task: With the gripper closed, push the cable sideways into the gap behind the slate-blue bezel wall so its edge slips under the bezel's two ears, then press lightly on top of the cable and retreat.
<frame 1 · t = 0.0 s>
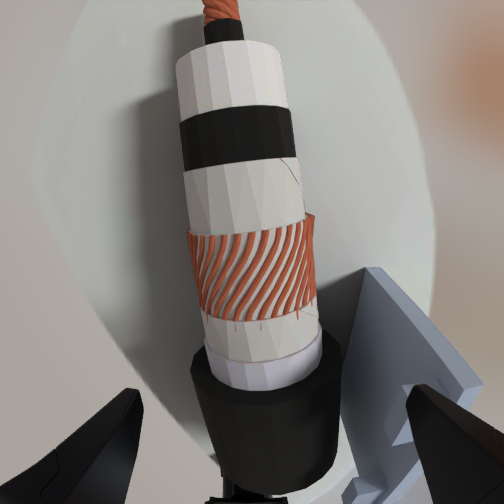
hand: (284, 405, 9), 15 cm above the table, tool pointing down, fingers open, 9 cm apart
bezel: (356, 340, 26), on the table
cable: (250, 237, 23), on the table
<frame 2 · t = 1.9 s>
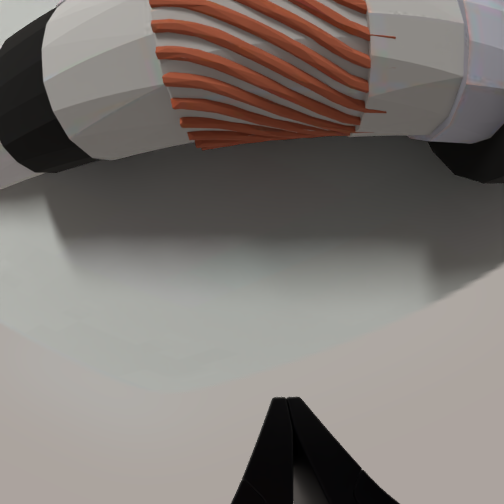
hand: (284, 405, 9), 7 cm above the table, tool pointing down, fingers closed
cable: (256, 65, 12), on the table
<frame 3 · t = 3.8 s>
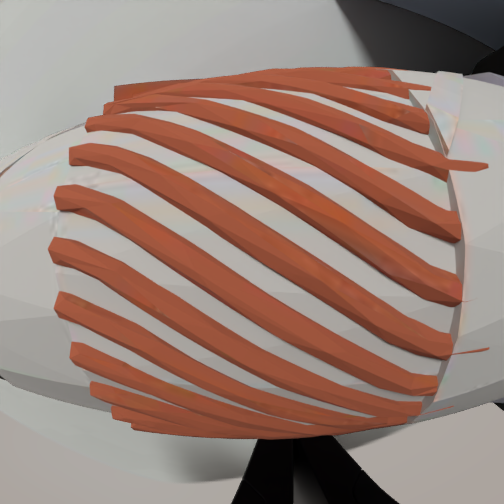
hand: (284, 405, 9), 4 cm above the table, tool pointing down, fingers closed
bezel: (480, 29, 8), on the table
cable: (256, 208, 11), on the table, touching gripper
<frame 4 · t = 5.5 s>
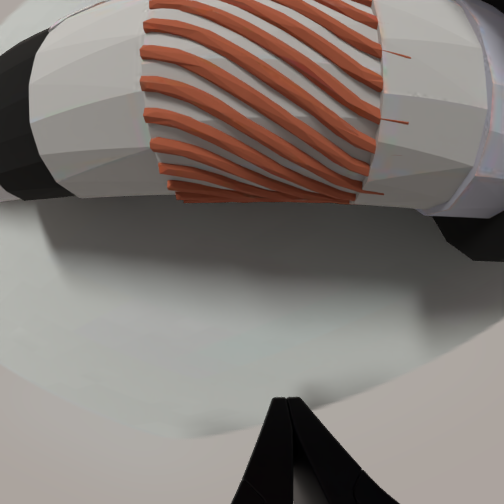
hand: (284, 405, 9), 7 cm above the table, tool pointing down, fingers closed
cable: (258, 100, 12), on the table
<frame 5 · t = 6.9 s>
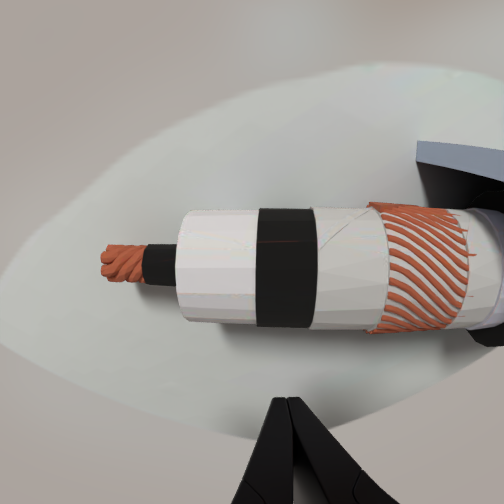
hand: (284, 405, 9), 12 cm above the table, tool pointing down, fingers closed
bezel: (485, 167, 18), on the table
cable: (375, 243, 20), on the table
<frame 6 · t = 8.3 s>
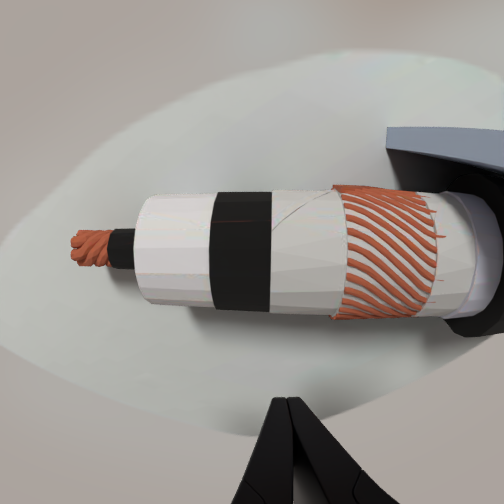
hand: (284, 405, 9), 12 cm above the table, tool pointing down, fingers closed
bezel: (463, 154, 18), on the table
cable: (346, 230, 20), on the table
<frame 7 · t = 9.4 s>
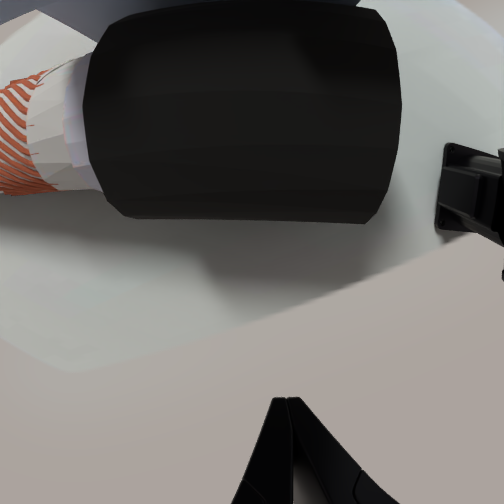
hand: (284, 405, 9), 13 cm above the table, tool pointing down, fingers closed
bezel: (209, 28, 16), on the table
cable: (76, 131, 18), on the table
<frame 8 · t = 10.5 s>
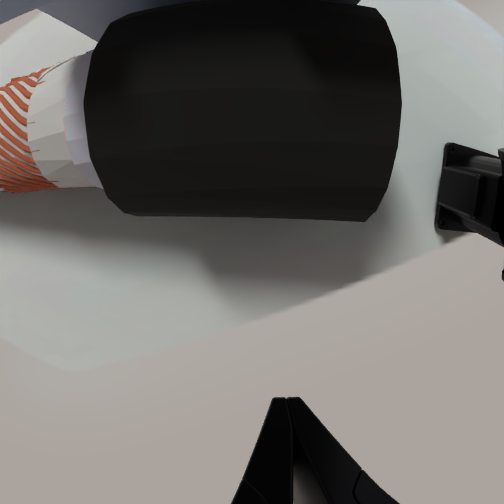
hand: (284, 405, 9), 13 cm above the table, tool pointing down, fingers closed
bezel: (209, 28, 16), on the table
cable: (77, 129, 18), on the table
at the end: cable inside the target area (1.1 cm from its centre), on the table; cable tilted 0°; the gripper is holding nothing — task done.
